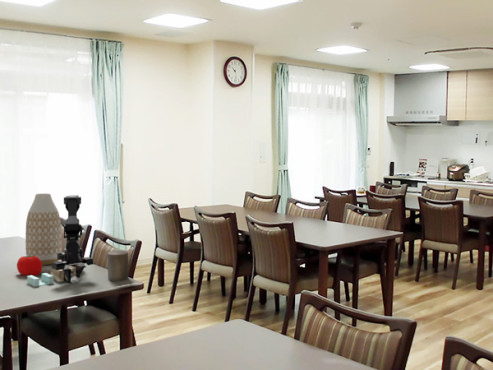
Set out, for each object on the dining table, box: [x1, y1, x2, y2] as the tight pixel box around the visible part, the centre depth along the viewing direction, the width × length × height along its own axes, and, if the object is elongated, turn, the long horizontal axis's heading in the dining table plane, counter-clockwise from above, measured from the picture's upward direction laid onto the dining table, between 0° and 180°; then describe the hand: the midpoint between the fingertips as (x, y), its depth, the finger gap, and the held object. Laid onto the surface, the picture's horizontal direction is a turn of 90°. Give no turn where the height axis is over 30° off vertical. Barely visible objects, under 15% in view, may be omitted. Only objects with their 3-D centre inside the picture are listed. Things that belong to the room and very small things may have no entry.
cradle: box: [26, 272, 55, 288], centre depth 255 cm, size 9×8×4 cm
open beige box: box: [50, 266, 76, 283], centre depth 264 cm, size 9×9×6 cm
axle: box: [64, 272, 79, 285], centre depth 261 cm, size 16×3×3 cm, turn 43°
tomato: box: [16, 255, 43, 277], centre depth 271 cm, size 11×13×10 cm
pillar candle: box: [107, 250, 129, 282], centre depth 265 cm, size 10×10×15 cm
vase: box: [25, 193, 63, 266], centre depth 298 cm, size 19×19×38 cm
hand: (73, 281), depth 257 cm, fingers closed on axle, 3 cm apart
